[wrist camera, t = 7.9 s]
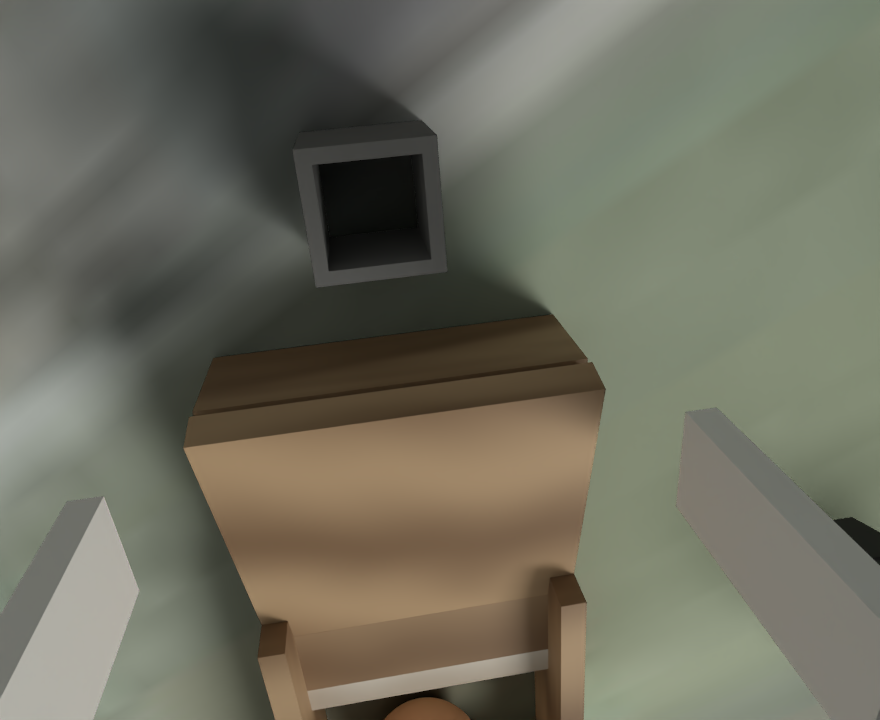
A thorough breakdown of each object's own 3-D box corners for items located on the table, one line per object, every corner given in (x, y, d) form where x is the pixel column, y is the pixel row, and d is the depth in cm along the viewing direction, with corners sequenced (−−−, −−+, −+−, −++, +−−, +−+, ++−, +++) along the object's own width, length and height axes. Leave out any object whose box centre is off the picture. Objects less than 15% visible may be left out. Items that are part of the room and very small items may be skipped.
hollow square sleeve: (299, 132, 17) (292, 149, 14) (421, 120, 17) (437, 135, 14) (318, 251, 18) (316, 287, 15) (431, 237, 18) (447, 271, 16)
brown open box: (212, 355, 19) (180, 438, 15) (552, 312, 20) (605, 379, 16) (321, 781, 28) (319, 903, 24) (554, 737, 29) (588, 848, 25)
